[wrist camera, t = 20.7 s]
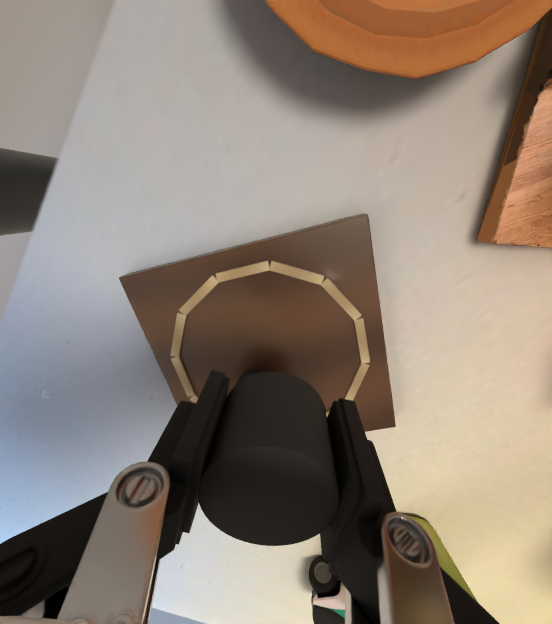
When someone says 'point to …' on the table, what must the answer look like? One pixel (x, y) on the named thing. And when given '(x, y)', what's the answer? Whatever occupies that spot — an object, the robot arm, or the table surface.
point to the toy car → (326, 594)
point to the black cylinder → (271, 463)
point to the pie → (408, 30)
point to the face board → (273, 316)
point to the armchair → (526, 159)
